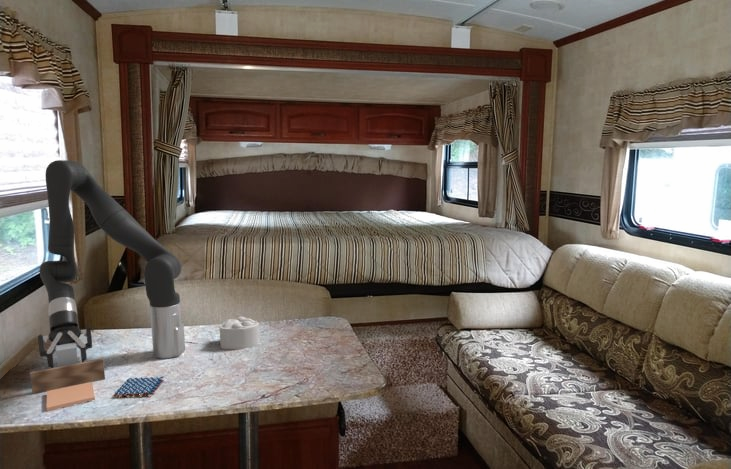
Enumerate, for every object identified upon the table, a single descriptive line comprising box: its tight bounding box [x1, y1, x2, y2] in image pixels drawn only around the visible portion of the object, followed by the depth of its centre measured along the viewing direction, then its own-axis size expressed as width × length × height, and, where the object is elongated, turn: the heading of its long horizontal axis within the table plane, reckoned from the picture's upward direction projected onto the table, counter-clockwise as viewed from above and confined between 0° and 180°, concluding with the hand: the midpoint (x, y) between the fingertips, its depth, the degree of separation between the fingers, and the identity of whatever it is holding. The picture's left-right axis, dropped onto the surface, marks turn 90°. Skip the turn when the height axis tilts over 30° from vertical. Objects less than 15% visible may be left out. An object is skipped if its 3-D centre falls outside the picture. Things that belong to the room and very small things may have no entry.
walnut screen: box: [29, 358, 106, 395], centre depth 144 cm, size 18×1×6 cm, turn 122°
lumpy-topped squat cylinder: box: [219, 316, 261, 350], centre depth 176 cm, size 10×13×9 cm
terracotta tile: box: [46, 382, 96, 412], centre depth 137 cm, size 11×11×1 cm
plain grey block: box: [55, 342, 79, 367], centre depth 148 cm, size 5×5×10 cm
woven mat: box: [113, 376, 165, 399], centre depth 142 cm, size 10×11×2 cm
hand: (67, 364), depth 147 cm, fingers open, 7 cm apart
